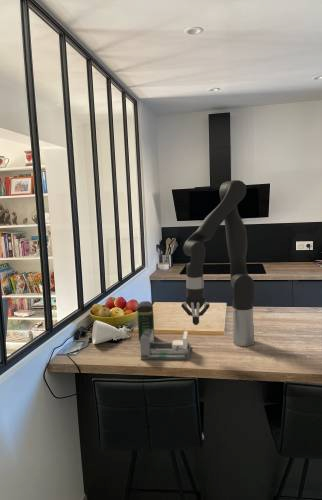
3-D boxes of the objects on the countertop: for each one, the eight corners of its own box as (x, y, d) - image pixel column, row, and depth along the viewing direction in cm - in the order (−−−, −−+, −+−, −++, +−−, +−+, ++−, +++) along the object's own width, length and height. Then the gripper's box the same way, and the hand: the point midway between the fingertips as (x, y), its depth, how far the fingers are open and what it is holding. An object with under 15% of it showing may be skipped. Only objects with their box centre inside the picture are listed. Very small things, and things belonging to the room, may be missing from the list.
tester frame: (190, 346, 174) (189, 328, 172) (188, 360, 160) (188, 339, 159) (146, 346, 177) (145, 328, 175) (140, 359, 163) (139, 339, 162)
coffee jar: (154, 342, 182) (152, 305, 179) (138, 342, 182) (135, 306, 179) (154, 334, 192) (152, 299, 189) (139, 335, 192) (137, 300, 189)
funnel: (131, 317, 190) (96, 315, 184) (133, 337, 183) (97, 336, 177) (125, 329, 198) (91, 328, 192) (127, 349, 191) (92, 348, 184)
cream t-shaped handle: (188, 346, 171) (187, 331, 170) (186, 356, 161) (186, 340, 160) (174, 346, 172) (173, 331, 171) (171, 356, 162) (170, 340, 160)
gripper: (210, 284, 165) (211, 321, 167) (180, 284, 167) (181, 321, 169) (210, 288, 157) (211, 327, 160) (179, 288, 159) (180, 327, 162)
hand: (195, 324), depth 165 cm, fingers closed
